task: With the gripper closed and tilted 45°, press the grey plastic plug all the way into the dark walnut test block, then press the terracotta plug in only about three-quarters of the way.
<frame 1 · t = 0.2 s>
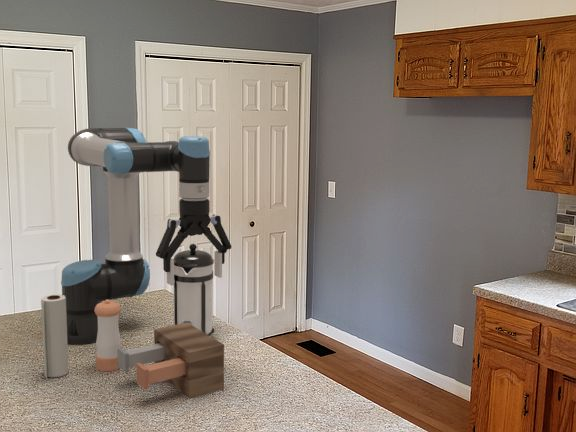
hand: (194, 280, 162), 28 cm above the countertop, tool pointing down, fingers open, 13 cm apart
coffee press: (193, 335, 201), on the countertop
flask: (187, 354, 185), on the countertop
salt shaker 2: (109, 366, 175), on the countertop
plug terracotta: (167, 370, 157), point 7 cm above the countertop, slide at 0.0 cm
test block: (188, 379, 168), on the countertop
paper towel roll: (54, 374, 169), on the countertop
plug grey: (146, 354, 166), point 7 cm above the countertop, slide at 0.0 cm
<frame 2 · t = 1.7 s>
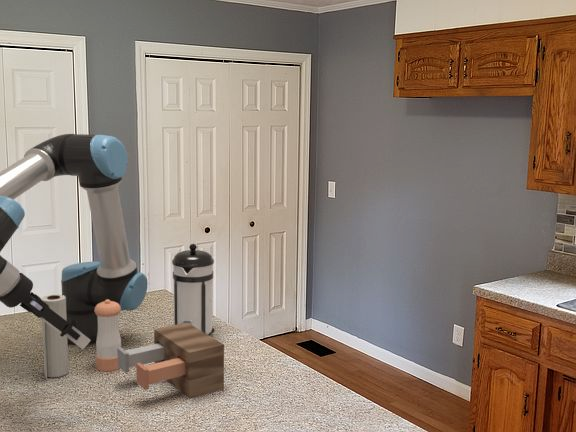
hand: (75, 336, 153), 16 cm above the countertop, tool tilted 45°, fingers open, 13 cm apart
nothing on the countertop moved.
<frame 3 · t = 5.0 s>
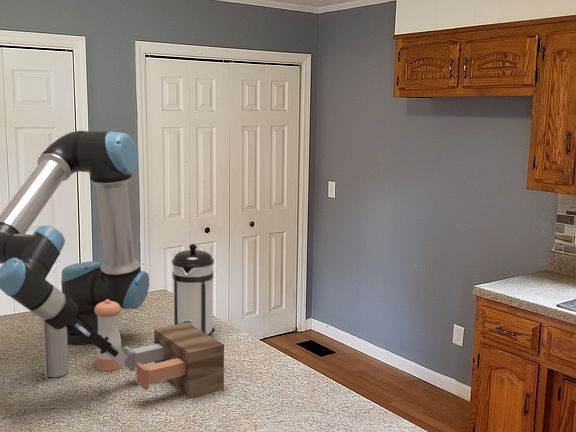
hand: (123, 359, 162), 7 cm above the countertop, tool tilted 45°, fingers closed
plug grey: (152, 353, 167), point 7 cm above the countertop, slide at 1.7 cm, touching gripper
everything else where it was.
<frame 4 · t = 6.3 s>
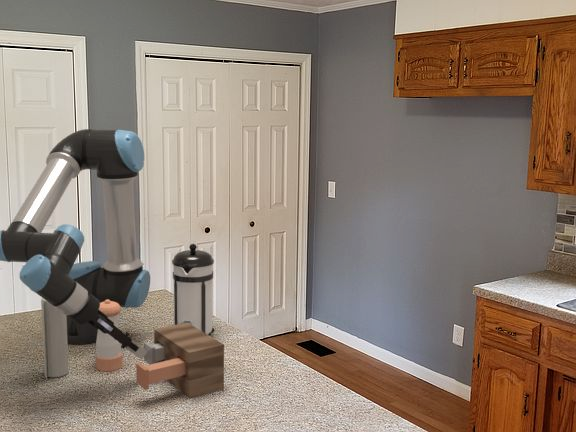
hand: (143, 354, 165), 7 cm above the countertop, tool tilted 45°, fingers closed
plug grey: (171, 348, 170), point 7 cm above the countertop, slide at 7.3 cm, touching gripper
everything else where it was.
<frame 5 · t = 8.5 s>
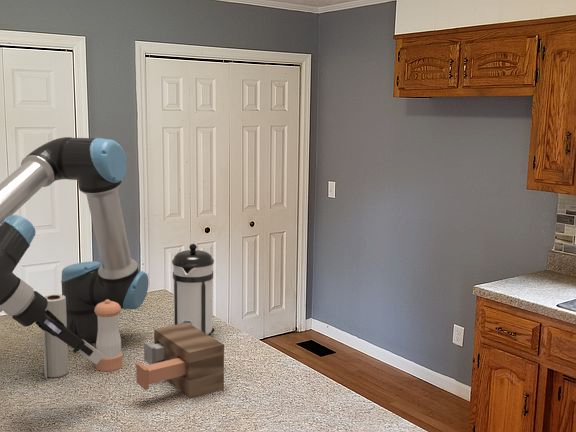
hand: (99, 359, 152), 11 cm above the countertop, tool tilted 45°, fingers closed
plug grey: (172, 348, 170), point 7 cm above the countertop, slide at 7.3 cm
everything else where it was.
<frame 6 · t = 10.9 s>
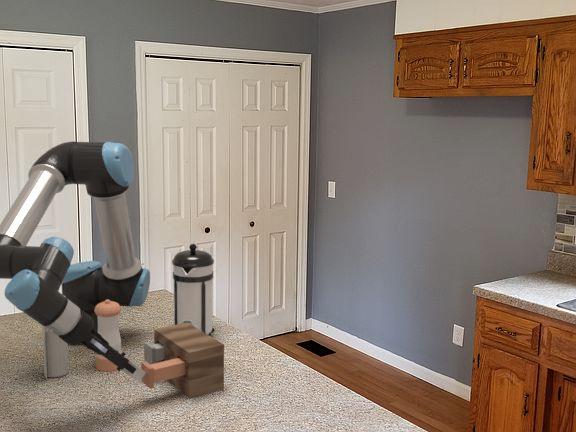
hand: (141, 376, 152), 7 cm above the countertop, tool tilted 45°, fingers closed
plug terracotta: (171, 368, 157), point 7 cm above the countertop, slide at 1.3 cm, touching gripper
everything else where it was.
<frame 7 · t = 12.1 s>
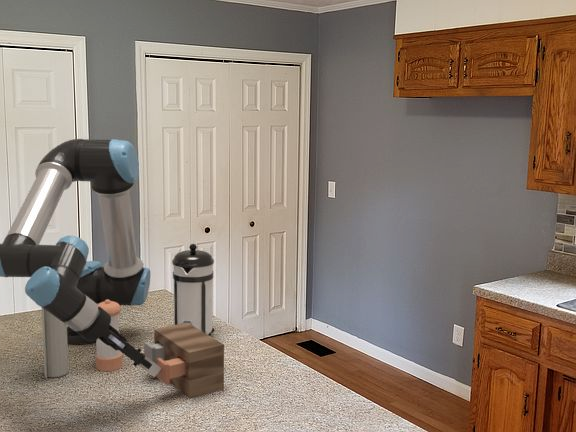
hand: (156, 371, 155), 7 cm above the countertop, tool tilted 45°, fingers closed
plug terracotta: (186, 365, 160), point 7 cm above the countertop, slide at 5.4 cm, touching gripper
everything else where it was.
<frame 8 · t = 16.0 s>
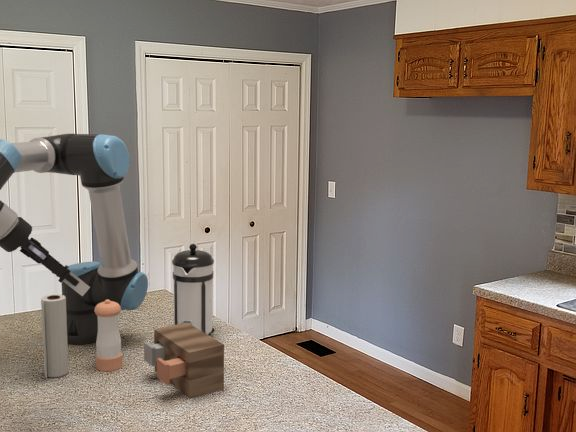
hand: (85, 291, 149), 28 cm above the countertop, tool tilted 45°, fingers closed
plug terracotta: (186, 365, 160), point 7 cm above the countertop, slide at 5.4 cm
everything else where it was.
at the end: plug grey slide at 7.3 cm; plug terracotta slide at 5.4 cm; plug terracotta touching nothing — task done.
